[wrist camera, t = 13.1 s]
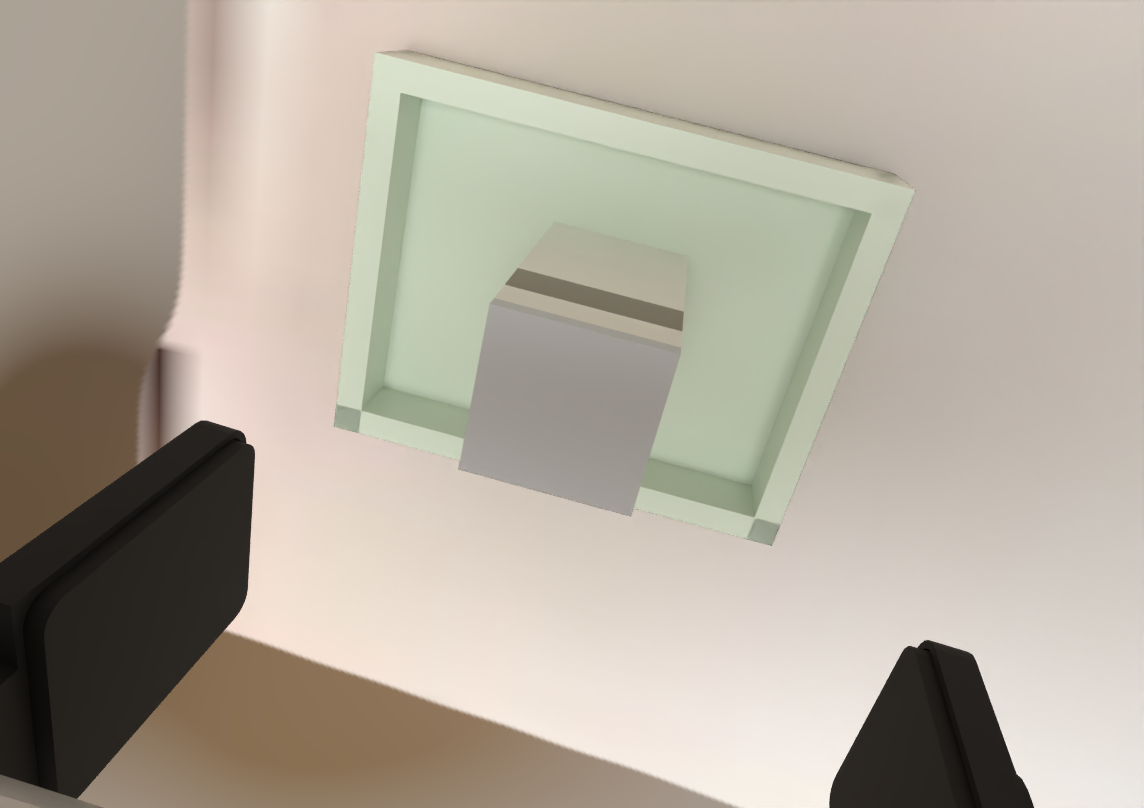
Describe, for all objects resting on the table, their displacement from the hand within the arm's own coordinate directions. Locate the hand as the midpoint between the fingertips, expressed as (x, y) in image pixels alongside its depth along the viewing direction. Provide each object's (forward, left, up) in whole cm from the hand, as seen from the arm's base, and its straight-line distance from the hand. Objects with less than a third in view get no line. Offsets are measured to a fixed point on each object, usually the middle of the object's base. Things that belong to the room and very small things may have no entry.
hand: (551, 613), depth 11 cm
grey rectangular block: (+1, 0, -15) cm, 15 cm away
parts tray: (+1, 0, -15) cm, 15 cm away
